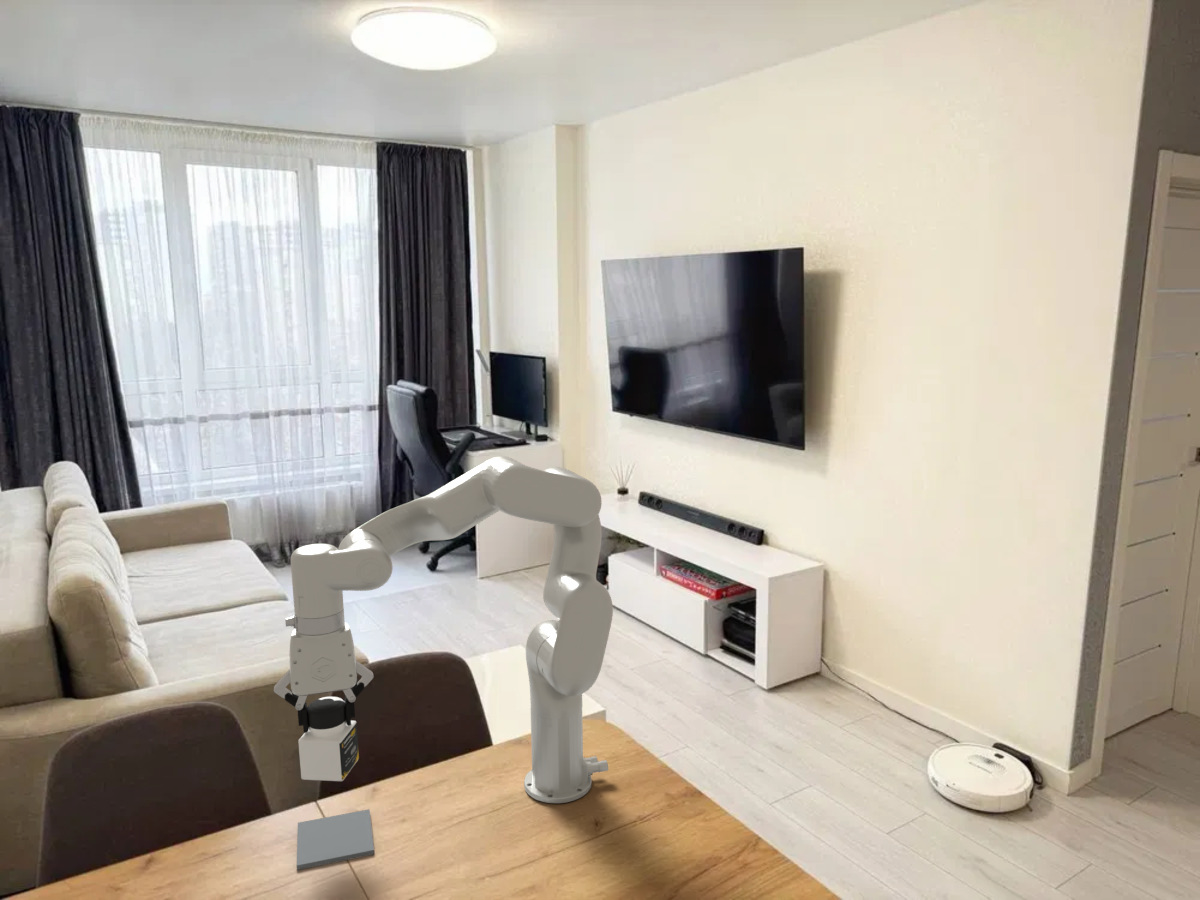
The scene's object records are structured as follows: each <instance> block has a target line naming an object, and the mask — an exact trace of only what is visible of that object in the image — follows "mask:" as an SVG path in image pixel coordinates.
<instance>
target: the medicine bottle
mask: <svg viewBox="0 0 1200 900" xmlns="http://www.w3.org/2000/svg"><path fill="white" fill-rule="evenodd" d="M307 717H308V731H307V732H305V733H304V732H303V734H302V736H301V737H300V738H299V739H298V753H299V766H300V778H301V780H306V781H307V780H308V781H325V782H326V781H327V782H343V781H344V780H345V779H346V777H347V776H348V775H349V773H350V772H351V770H352V769H353V768H354V766H355V765H356V763H357V762H358V761H359V758H360V756H359V742H358V741H359V739H358V738H359V737H358V728H357V727H358V726H357V721H356V720H352V719H351V725H349V726H348V725H347V722H346V708H345V699H344V700H343V699H342V698H341V697H338V696H323V697H321V698H317V699H315V700H313V701H312V702H310V703H309V705H307Z"/></svg>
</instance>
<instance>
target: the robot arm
mask: <svg viewBox="0 0 1200 900" xmlns="http://www.w3.org/2000/svg"><path fill="white" fill-rule="evenodd" d="M601 509H602V496H601V492H600V491H599V489H598V487H597V486H596V484H594V483H593V482H592V481H590V480H589V479H587V478H585V477H584V476H581V475H579V474H577V473H575V472H573V471H572V470H570V469H567V468H566V467H565V468H564V467H560V466H553V467H548V468H546V469H544V470H543V469H538V468H534V467H531V466H528V465H525V464H523V463H521V462H520V461H517V459H514V458H512V457H509V456H505V455H499V456H493V457H491V458H489V459H487V460H485V461H483V462H481V463H480V464H478V465H477V466H475V467H472V468H471V469H469V470H468V471H466V472H465V473H464V472H463V474H461V475H460V476H458V477H456V478H455V479H453V480H451V481H449V482H447V483H446V484H445V485H442V486H441V487H439V488H437V489H436V490H434V491H432V492H429V494H427V495H424V496H421V497H419V498H415V499H413V500H410V501H409V502H406V503H403V504H400V505H398V506H396V507H393V508H390V509H388V510H386V511H384V512H382V513H380V514H379V515H377V516H375V517H373V518H371V519H370V520H368V521H367V522H365V523H363V524H361V525H359V526H358V527H356V528H355V529H353V530H352V531H350V532H349V533H348V534H347V535H345V537H344V538H343V539H342V540H341V542H340V544H339V545H338V547H336V546H335V545H333V544H329V543H312V544H311V543H310V544H306V545H303V546H300V547H298V548H295V550H293V552H292V553H291V556H290V569H291V573H290V574H291V583H292V597H293V608H294V610H293V611H294V614H292V616H290V617H285V618H284V619H285V621H284V622H285V627H291V628H293V630H292V632H291V634H290V641H289V669H288V670H287V672H285V673H284V675H283V676H282V677H281V678H280V679H279V680H278V681H277V683H275V685H274V687H273V693H275V694H276V695H278V696H279V697H281V698H282V699H284V700H285V701H286V702H287V703H288V704H289V705H291V706H293V707H294V708H295V710H297V718H298V721H297V722H298V727H302V726H303V734H304V733H305V732H307V731H308V717H307V707H308V703H307V702H306V700H307V697H308V696H311V695H312V696H313V695H314V696H315V695H321V694H327V693H334V692H340V691H342V692H343V693H344V695H345V697H344V701H345V708H346V722H347V725H348V726H349V725H351V720H352V719H353V718H356V710H355V701H356V698H358V696H359V695H360V694H361V693H362V692H363V691H364V690H365V688H366V687H367V686H368V685H369V683H371V681H372V680H373V679H374V673H373V671H372V670H371V669H369V668H367V666H365V665H363V664H362V663H361V662H360V661H358V660H357V659H356V654H355V652H356V650H355V644H354V639H353V635H352V631H351V627H350V625H349V624H348V623H347V622H345V610H344V608H345V607H344V594H343V593H344V592H343V591H352V592H353V591H354V592H366V591H367V592H368V591H372V590H377V589H380V588H381V587H383V586H384V585H385V584H386V583H388V582H389V580H390V579H391V577H392V573H393V566H394V565H393V562H392V559H391V557H392V556H393V555H395V554H396V553H398V552H400V551H402V550H403V549H406V548H408V547H410V546H413V545H415V544H418V543H423V542H428V541H446V540H451V539H455V538H457V537H459V536H461V535H462V534H464V533H466V532H467V531H469V530H470V529H471V528H473V527H475V526H476V525H478V524H480V523H481V522H483V521H485V520H486V519H488V518H490V517H491V516H493V515H495V514H497V513H498V512H502V513H504V514H506V515H508V516H511V517H512V516H513V517H516V518H519V519H524V520H529V521H534V522H539V523H544V524H550V525H553V530H554V539H553V546H552V551H551V556H550V557H551V558H550V561H549V564H548V565H549V566H548V570H547V575H546V579H545V583H544V587H543V603H544V605H545V606H546V608H547V609H548V611H549V612H550V613H551V614H552V615H553V616H554V617H555V618H557V620H556V619H555V620H554V619H549V620H548V619H547V620H544V621H542V622H540V623H538V624H536V626H534V627H533V628H532V630H531V631H530V632H529V634H528V637H527V639H526V644H525V660H526V667H527V673H528V674H527V675H528V682H529V693H530V699H529V700H530V736H531V738H530V739H531V745H530V746H531V770H529V771H528V772H527V774H526V775H525V777H524V781H523V782H524V783H523V786H524V790H525V792H526V794H528V795H529V796H530V797H531V798H533V799H534V800H536V801H539V802H542V803H548V804H564V803H569V802H574V801H576V800H578V799H581V798H582V797H584V796H586V795H587V793H589V791H590V790H591V789H592V776H593V774H595V773H602V772H607V771H609V764H608V763H609V762H608V761H607V760H606V759H605V760H599V761H598V757H597V756H596V755H594V756H589V757H584V751H583V750H584V745H583V744H584V741H583V740H584V739H583V737H584V735H583V733H584V732H583V694H585V693H586V692H588V691H589V690H590V689H591V688H592V687H593V686H594V684H595V683H596V682H597V679H598V677H599V676H600V673H601V668H602V666H603V662H604V657H605V653H606V649H607V644H608V640H609V636H610V635H609V634H610V630H611V626H612V623H613V622H612V621H613V617H614V615H613V612H614V611H613V609H614V608H613V599H612V597H611V595H610V592H609V591H608V589H607V587H605V585H603V584H602V583H601V582H600V581H598V580H597V571H598V564H599V559H600V552H601V547H602V538H603V537H602V534H603V533H602V523H601V520H600V515H599V514H600V512H601ZM358 675H359V676H361V678H360V679H359V680H358V677H357V676H358ZM289 684H290V689H291V690H290V689H288V688H287V686H288V685H289Z"/></svg>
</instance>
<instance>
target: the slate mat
mask: <svg viewBox="0 0 1200 900" xmlns="http://www.w3.org/2000/svg"><path fill="white" fill-rule="evenodd" d="M371 820H372V819H371V812H370V808H368V809H363V810H358V811H352V812H347V813H343V814H342V813H341V814H337V815H331V816H327V817H321V818H316V819H310V820H305V821H300V822H297V835H296V836H297V838H296V843H297V844H296V871H298V870H299V871H300V870H304V869H309V868H314V867H320V866H323V865H324V866H325V865H329V864H333V863H337V862H343V861H347V860H348V861H349V860H352V859H358V858H362V857H367V856H372V855H375V847H374V839H373V837H374V836H373V831H372V829H373V828H372V821H371Z"/></svg>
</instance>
